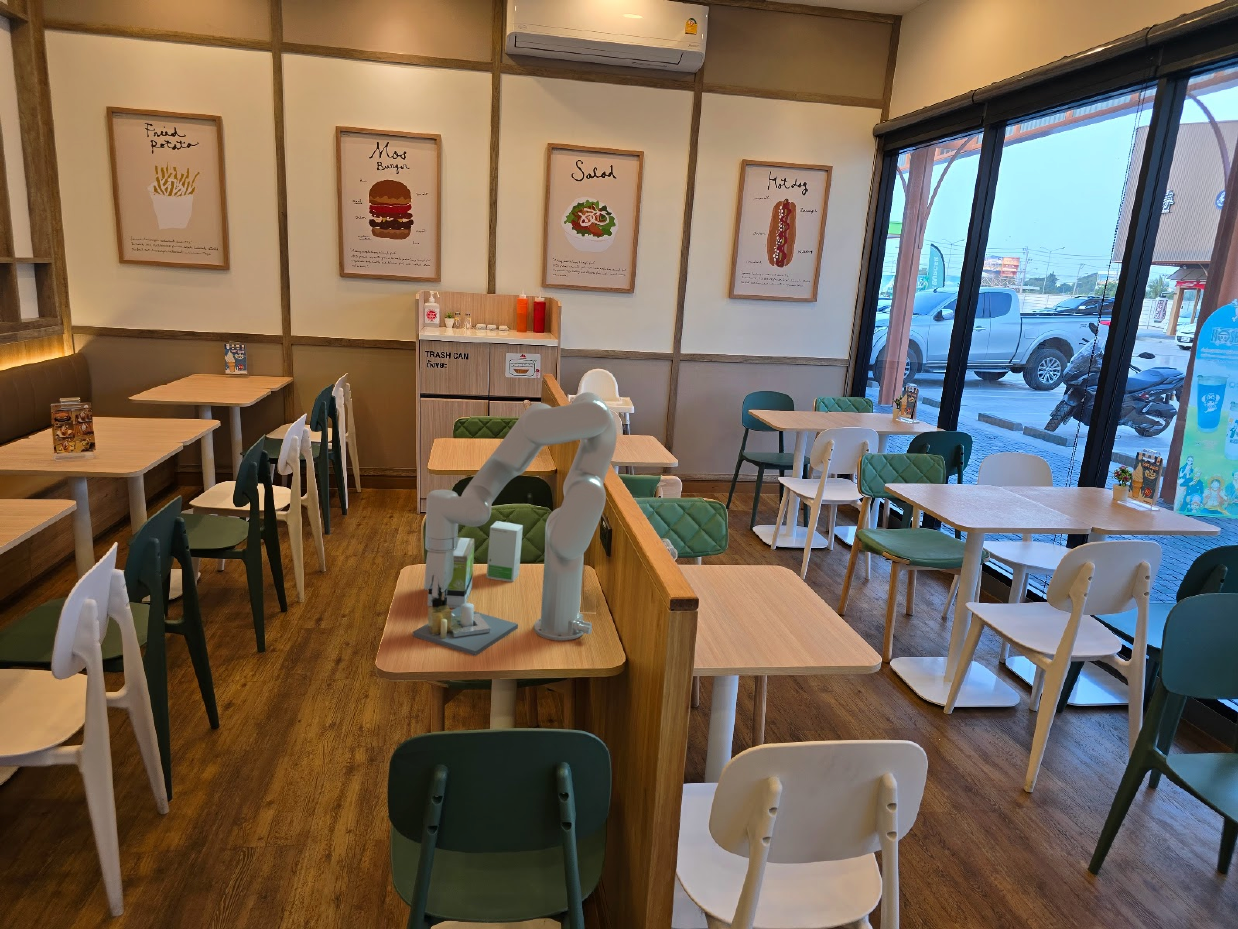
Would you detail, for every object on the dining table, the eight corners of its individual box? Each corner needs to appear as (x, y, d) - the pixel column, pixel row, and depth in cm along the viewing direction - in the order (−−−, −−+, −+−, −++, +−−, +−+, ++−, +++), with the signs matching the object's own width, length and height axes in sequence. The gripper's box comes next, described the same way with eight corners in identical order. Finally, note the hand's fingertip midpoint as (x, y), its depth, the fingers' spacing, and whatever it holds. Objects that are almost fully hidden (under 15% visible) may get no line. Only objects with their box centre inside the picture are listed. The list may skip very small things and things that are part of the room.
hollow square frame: (478, 617, 205) (479, 596, 203) (490, 632, 197) (491, 610, 196) (425, 624, 198) (425, 603, 197) (435, 639, 191) (435, 618, 189)
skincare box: (485, 578, 234) (488, 526, 230) (493, 570, 240) (495, 520, 236) (514, 582, 232) (516, 530, 229) (520, 574, 239) (523, 523, 235)
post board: (517, 628, 203) (519, 602, 202) (475, 656, 187) (476, 627, 186) (458, 611, 211) (459, 585, 209) (412, 636, 195) (413, 608, 193)
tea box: (465, 609, 212) (467, 555, 209) (426, 607, 211) (427, 553, 208) (472, 587, 227) (475, 536, 223) (436, 585, 226) (437, 534, 223)
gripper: (434, 530, 202) (432, 600, 206) (417, 550, 187) (415, 624, 192) (464, 533, 202) (461, 602, 206) (449, 553, 187) (447, 627, 191)
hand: (439, 613), depth 199 cm, fingers closed
